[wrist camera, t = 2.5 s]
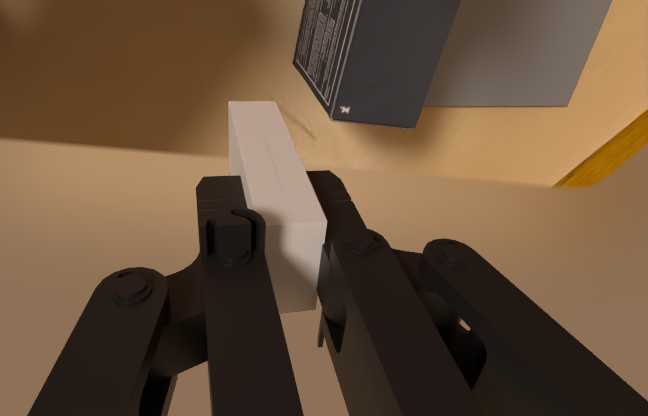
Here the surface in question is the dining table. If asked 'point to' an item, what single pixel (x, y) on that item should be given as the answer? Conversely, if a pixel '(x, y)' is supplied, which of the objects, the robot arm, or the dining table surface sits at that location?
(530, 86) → the mat
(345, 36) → the small box
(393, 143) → the dining table surface
